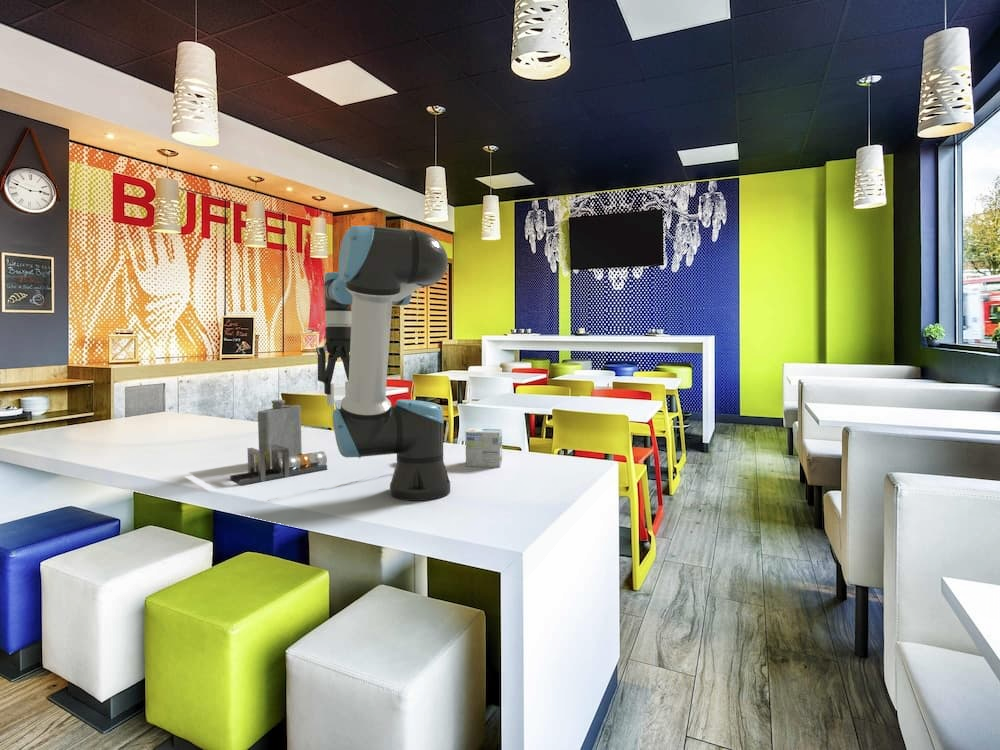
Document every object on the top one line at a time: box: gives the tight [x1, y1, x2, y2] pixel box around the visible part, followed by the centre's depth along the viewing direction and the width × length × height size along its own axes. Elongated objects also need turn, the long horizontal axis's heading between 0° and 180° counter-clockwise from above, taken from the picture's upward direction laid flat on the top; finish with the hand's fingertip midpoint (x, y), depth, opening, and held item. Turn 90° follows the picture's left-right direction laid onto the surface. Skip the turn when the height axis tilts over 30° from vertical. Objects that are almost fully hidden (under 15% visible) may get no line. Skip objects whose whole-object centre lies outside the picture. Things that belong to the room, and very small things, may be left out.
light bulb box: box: [465, 428, 503, 468], centre depth 171 cm, size 11×7×11 cm, turn 84°
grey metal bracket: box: [246, 444, 290, 483], centre depth 152 cm, size 8×8×8 cm
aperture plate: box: [254, 451, 271, 471], centre depth 156 cm, size 4×1×7 cm, turn 136°
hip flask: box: [257, 399, 303, 469], centre depth 167 cm, size 16×4×20 cm, turn 159°
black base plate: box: [229, 464, 329, 487], centre depth 155 cm, size 24×8×2 cm, turn 135°
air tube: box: [276, 450, 328, 473], centre depth 160 cm, size 13×4×5 cm, turn 135°
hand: (339, 404), depth 167 cm, fingers open, 5 cm apart
